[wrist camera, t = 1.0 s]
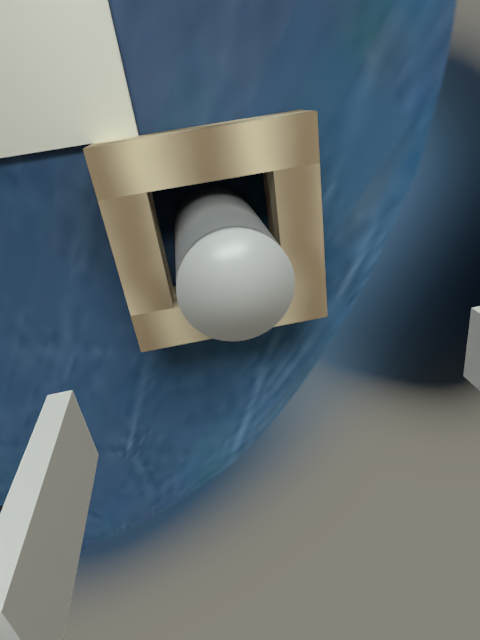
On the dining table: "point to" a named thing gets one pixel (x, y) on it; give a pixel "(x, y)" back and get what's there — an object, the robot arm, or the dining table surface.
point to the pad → (60, 76)
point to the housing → (199, 167)
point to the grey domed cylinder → (229, 267)
